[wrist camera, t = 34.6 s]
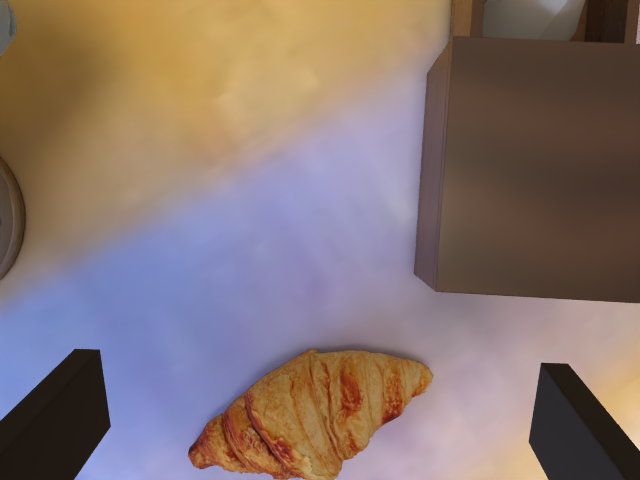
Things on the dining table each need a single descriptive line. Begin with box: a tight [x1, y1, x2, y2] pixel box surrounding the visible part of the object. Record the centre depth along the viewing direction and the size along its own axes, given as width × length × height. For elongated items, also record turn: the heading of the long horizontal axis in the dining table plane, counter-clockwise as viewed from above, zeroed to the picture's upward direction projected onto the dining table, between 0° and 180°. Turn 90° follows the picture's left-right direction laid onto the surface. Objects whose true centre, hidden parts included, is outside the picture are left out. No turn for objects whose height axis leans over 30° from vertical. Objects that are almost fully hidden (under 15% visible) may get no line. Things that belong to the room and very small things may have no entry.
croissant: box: [188, 350, 433, 480], centre depth 40 cm, size 21×10×8 cm, turn 111°
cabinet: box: [414, 36, 640, 303], centre depth 36 cm, size 17×14×9 cm
